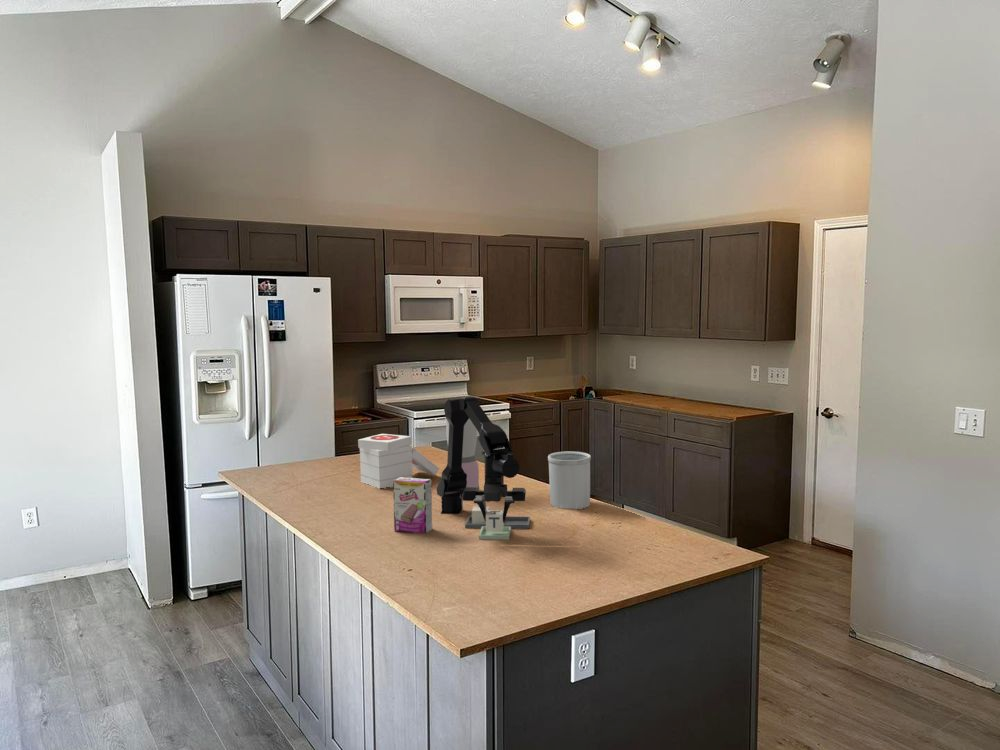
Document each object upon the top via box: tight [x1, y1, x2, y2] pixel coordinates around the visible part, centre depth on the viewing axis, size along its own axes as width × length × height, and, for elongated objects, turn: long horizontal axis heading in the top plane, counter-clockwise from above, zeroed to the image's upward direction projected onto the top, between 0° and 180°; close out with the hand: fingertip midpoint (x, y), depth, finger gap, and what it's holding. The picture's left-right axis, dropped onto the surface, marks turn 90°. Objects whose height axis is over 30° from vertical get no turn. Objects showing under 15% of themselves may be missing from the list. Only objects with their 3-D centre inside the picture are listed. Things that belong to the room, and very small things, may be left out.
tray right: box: [504, 515, 531, 530], centre depth 236 cm, size 9×9×2 cm
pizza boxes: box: [357, 433, 440, 489], centre depth 299 cm, size 19×30×18 cm, turn 129°
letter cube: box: [486, 509, 504, 531], centre depth 226 cm, size 5×5×5 cm
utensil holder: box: [547, 450, 592, 510], centre depth 259 cm, size 15×15×18 cm
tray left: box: [464, 515, 486, 529], centre depth 237 cm, size 9×9×2 cm
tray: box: [478, 526, 512, 541], centre depth 226 cm, size 9×9×2 cm
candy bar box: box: [392, 477, 433, 534], centre depth 232 cm, size 11×5×16 cm, turn 71°
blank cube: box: [471, 505, 490, 524], centre depth 237 cm, size 5×5×5 cm
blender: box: [445, 418, 480, 496], centre depth 276 cm, size 16×12×32 cm
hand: (494, 522), depth 226 cm, fingers closed on letter cube, 5 cm apart
